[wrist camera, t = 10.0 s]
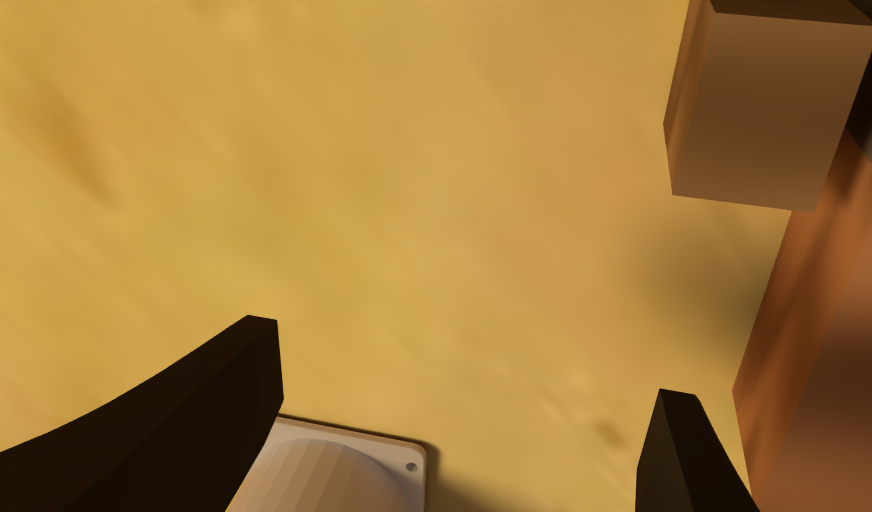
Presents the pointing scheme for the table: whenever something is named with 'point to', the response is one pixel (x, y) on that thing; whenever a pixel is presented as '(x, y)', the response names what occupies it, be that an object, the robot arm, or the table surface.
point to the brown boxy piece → (816, 346)
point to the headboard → (763, 98)
